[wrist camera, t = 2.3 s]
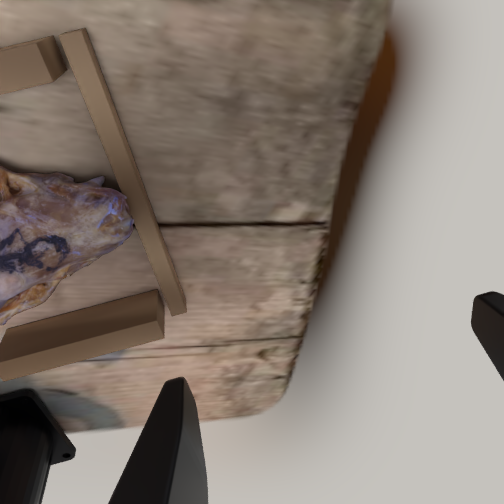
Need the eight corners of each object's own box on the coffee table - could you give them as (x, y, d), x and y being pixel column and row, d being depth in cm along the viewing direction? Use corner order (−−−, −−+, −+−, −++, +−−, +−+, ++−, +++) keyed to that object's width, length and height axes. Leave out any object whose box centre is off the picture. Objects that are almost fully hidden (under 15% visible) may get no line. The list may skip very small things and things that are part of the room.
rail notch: (186, 300, 23) (188, 331, 21) (18, 345, 23) (3, 381, 21) (85, 27, 16) (73, 34, 14) (-165, 87, 15) (-217, 103, 13)
